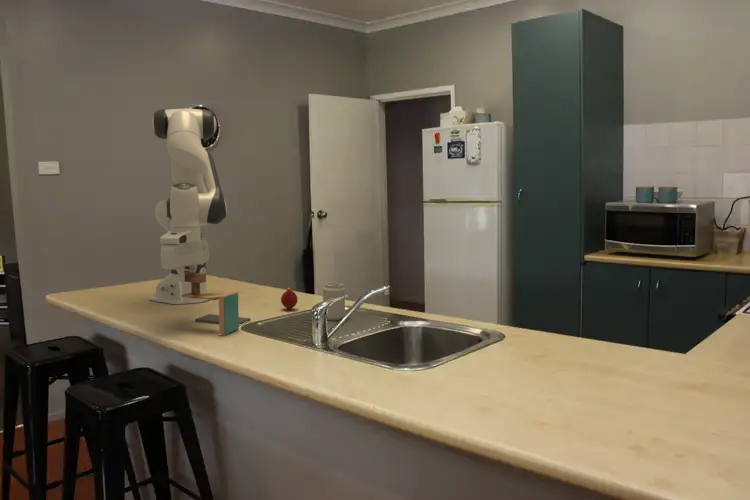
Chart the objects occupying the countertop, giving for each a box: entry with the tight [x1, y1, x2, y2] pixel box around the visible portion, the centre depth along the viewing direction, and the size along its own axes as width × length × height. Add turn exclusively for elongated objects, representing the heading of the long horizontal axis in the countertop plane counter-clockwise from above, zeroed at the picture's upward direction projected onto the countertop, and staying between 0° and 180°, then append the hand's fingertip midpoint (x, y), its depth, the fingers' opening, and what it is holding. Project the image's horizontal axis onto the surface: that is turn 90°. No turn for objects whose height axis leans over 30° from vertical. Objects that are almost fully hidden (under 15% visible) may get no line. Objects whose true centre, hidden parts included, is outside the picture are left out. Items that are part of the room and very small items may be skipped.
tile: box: [218, 291, 240, 336], centre depth 198 cm, size 2×8×12 cm, turn 160°
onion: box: [280, 287, 298, 310], centre depth 231 cm, size 6×6×8 cm
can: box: [322, 282, 346, 322], centre depth 218 cm, size 8×8×12 cm
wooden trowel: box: [179, 272, 224, 301], centre depth 200 cm, size 14×6×7 cm, turn 70°
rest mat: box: [194, 313, 251, 325], centre depth 213 cm, size 16×8×1 cm, turn 70°
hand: (187, 279), depth 202 cm, fingers closed on wooden trowel, 3 cm apart
